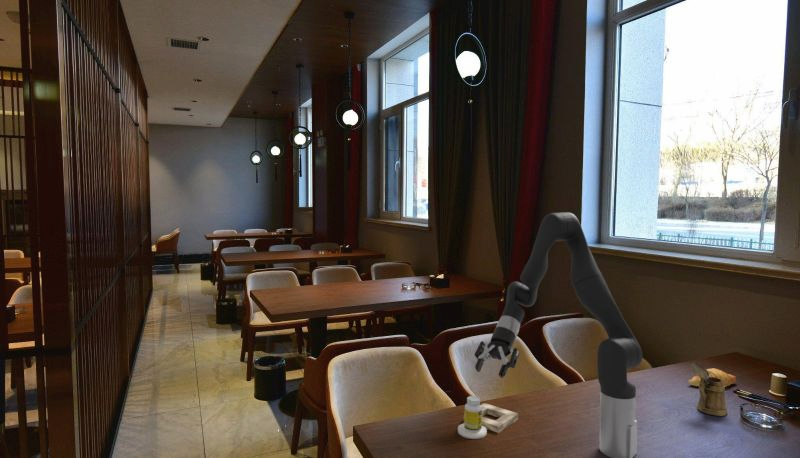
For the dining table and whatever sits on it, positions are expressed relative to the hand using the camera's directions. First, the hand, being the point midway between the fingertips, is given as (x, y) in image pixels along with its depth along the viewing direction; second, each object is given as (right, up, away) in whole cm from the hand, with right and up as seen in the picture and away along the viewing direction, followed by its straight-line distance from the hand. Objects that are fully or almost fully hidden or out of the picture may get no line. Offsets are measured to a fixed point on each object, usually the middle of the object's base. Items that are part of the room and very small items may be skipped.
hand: (488, 373), depth 157 cm
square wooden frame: (+1, -16, +2) cm, 16 cm away
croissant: (+96, -16, +35) cm, 104 cm away
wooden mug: (+77, -16, +9) cm, 80 cm away
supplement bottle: (-6, -16, -7) cm, 18 cm away
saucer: (-6, -16, -7) cm, 19 cm away
